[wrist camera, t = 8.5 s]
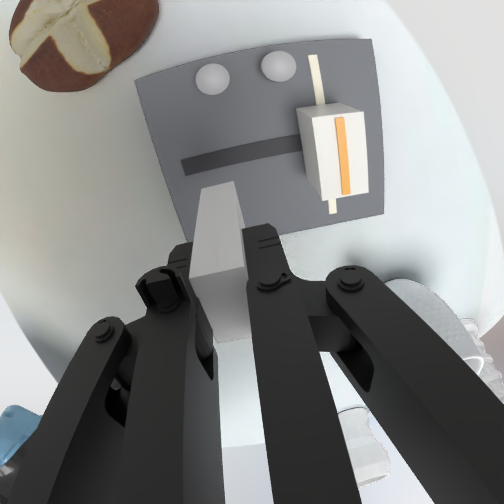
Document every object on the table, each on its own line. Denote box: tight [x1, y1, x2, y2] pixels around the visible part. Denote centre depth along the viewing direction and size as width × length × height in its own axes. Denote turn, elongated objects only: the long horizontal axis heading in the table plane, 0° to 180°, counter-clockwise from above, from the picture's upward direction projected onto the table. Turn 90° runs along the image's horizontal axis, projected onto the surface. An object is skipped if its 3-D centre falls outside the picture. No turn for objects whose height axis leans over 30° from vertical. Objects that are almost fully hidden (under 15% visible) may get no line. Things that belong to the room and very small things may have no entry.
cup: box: [338, 408, 390, 487], centre depth 44 cm, size 11×11×15 cm
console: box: [135, 39, 384, 242], centre depth 20 cm, size 16×14×4 cm
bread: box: [9, 0, 159, 92], centre depth 12 cm, size 11×11×5 cm
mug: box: [384, 279, 484, 375], centre depth 26 cm, size 15×11×13 cm
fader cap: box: [296, 103, 369, 201], centre depth 17 cm, size 3×5×4 cm, turn 12°
